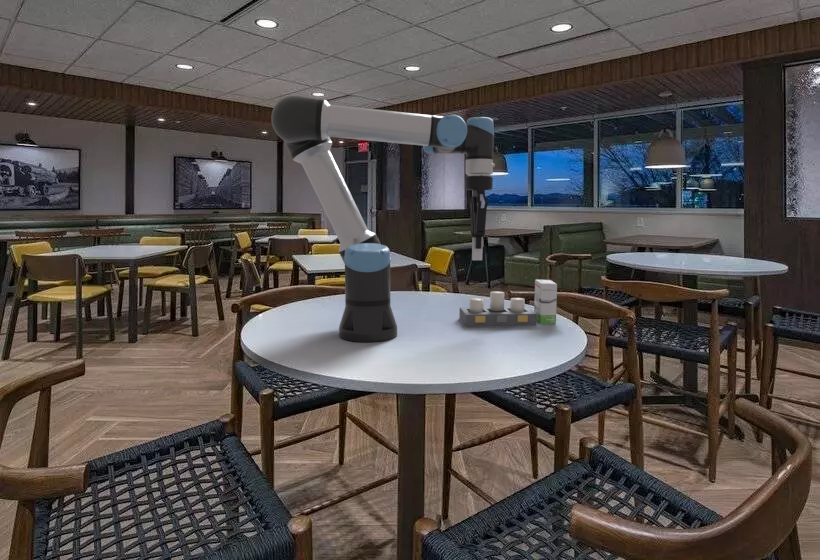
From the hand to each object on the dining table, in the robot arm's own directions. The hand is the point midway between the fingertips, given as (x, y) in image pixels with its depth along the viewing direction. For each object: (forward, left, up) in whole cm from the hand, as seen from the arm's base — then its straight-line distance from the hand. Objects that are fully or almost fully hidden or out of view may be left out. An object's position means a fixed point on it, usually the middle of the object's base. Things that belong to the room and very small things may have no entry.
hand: (477, 260), depth 148 cm
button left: (0, 0, -16) cm, 16 cm away
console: (+6, 0, -18) cm, 19 cm away
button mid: (+6, 0, -15) cm, 16 cm away
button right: (+12, 0, -16) cm, 20 cm away
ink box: (+21, +1, -18) cm, 28 cm away
